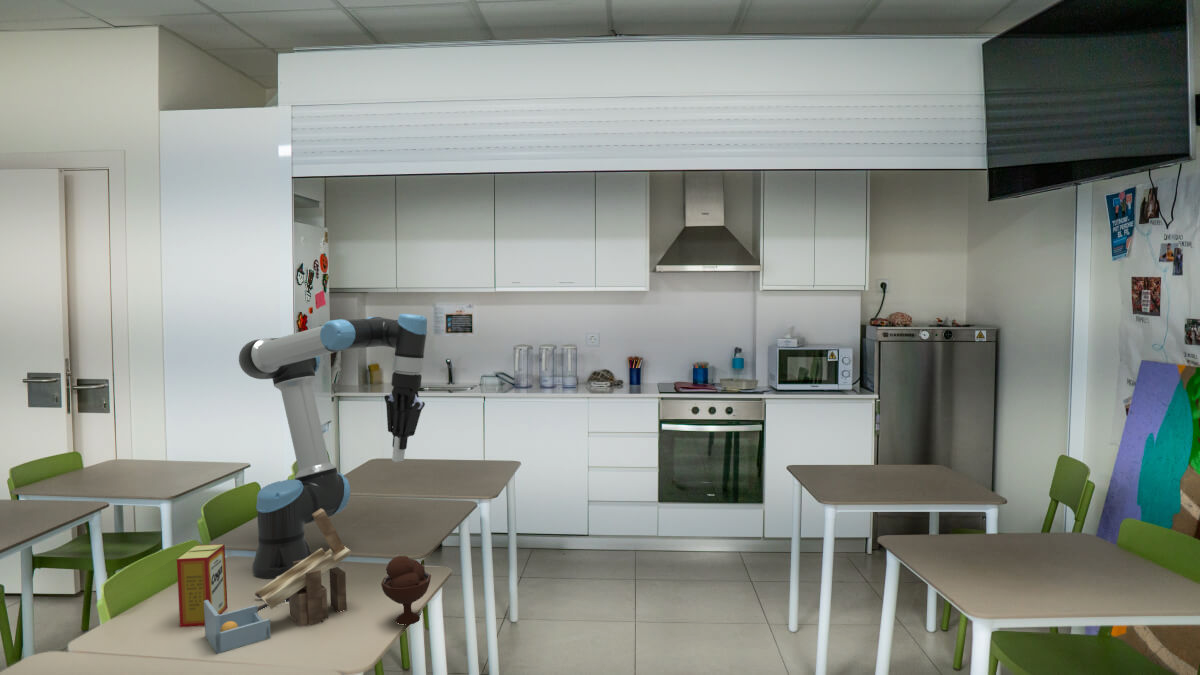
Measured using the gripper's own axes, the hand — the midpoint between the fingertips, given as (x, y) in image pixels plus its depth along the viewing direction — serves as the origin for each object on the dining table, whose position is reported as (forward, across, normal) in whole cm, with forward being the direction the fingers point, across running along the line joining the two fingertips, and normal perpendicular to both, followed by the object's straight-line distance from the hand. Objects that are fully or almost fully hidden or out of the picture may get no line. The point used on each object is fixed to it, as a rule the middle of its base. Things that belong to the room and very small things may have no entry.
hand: (397, 460), depth 191 cm
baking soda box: (+37, +17, +38) cm, 56 cm away
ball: (+33, +1, +42) cm, 54 cm away
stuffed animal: (+35, +11, +23) cm, 43 cm away
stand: (+33, -5, +24) cm, 41 cm away
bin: (+35, +1, +41) cm, 53 cm away
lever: (+23, -3, +27) cm, 36 cm away
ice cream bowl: (+30, -26, +16) cm, 43 cm away
